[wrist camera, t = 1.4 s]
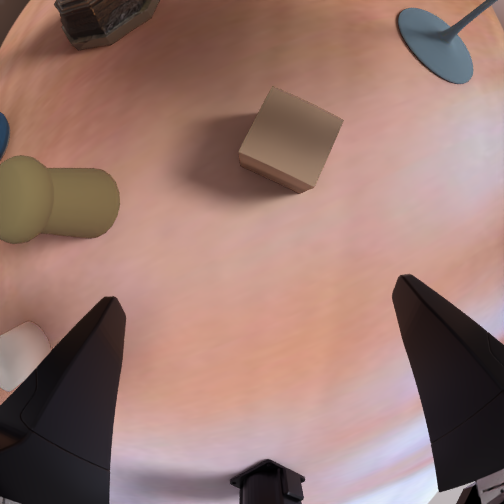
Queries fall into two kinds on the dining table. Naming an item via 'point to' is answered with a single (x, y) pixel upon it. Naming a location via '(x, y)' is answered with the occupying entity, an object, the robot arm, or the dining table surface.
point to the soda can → (4, 134)
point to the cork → (54, 200)
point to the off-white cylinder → (21, 353)
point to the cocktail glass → (439, 42)
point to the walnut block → (289, 141)
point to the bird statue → (102, 19)
